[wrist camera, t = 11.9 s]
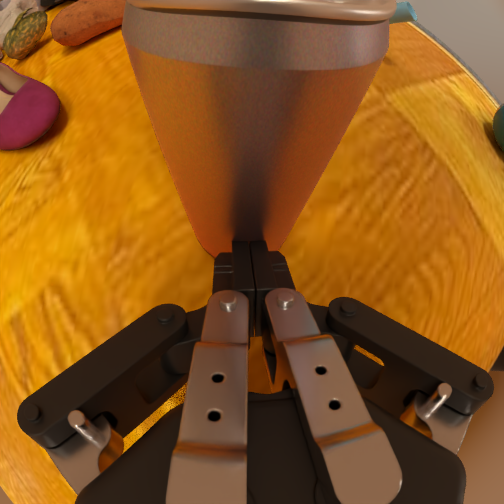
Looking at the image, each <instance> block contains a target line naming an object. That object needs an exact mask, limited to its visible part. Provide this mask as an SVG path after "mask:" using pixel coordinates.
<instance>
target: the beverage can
mask: <svg viewBox="0 0 504 504" xmlns="http://www.w3.org/2000/svg"><path fill="white" fill-rule="evenodd" d="M396 8H397V4H396V0H126V4H125V10H124V15H123V21H122V35H123V38H124V42H125V45H126V48H127V51H128V55H129V58H130V61H131V64H132V67H133V70H134V73H135V77H136V80H137V83H138V86H139V89H140V92H141V94H142V97H143V100H144V103H145V106H146V109H147V112H148V115H149V117H150V120H151V123H152V126H153V129H154V131H155V134H156V137H157V139H158V142H159V145H160V147H161V150H162V153H163V155H164V158H165V161H166V163H167V166H168V168H169V171H170V174H171V176H172V179H173V181H174V184H175V186H176V189H177V191H178V194H179V196H180V199H181V201H182V204H183V206H184V208H185V211H186V213H187V216H188V218H189V221H190V223H191V225H192V228H193V230H194V232H195V235H196V237H197V239H198V241H199V243H200V244H201V245H202V247H203V248H204V249H205V250H206V251H207V252H208V253H209V254H211V255H212V256H213V257H215V258H216V257H217V256H218V254H219V253H221V252H232V241H248V244H249V242H250V241H259V240H266V243H267V247H268V251H277V250H278V249H279V248H280V247H281V245H282V244H283V243H284V241H285V239H286V237H287V236H288V234H289V232H290V230H291V229H292V227H293V225H294V223H295V222H296V220H297V218H298V216H299V215H300V213H301V211H302V209H303V208H304V206H305V204H306V202H307V201H308V199H309V197H310V195H311V193H312V192H313V190H314V188H315V186H316V184H317V183H318V181H319V179H320V177H321V175H322V174H323V172H324V170H325V168H326V166H327V165H328V163H329V161H330V159H331V157H332V155H333V154H334V152H335V150H336V148H337V146H338V144H339V143H340V141H341V139H342V137H343V135H344V133H345V131H346V130H347V128H348V126H349V124H350V122H351V120H352V118H353V116H354V115H355V113H356V111H357V109H358V107H359V105H360V103H361V101H362V99H363V97H364V96H365V94H366V92H367V90H368V88H369V86H370V84H371V82H372V80H373V78H374V76H375V74H376V72H377V70H378V68H379V66H380V65H381V63H382V61H383V59H384V57H385V55H386V53H387V51H388V47H389V18H391V17H392V16H393V15H394V13H395V11H396Z"/></svg>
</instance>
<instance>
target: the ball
mask: <svg viewBox="0 0 504 504" xmlns="http://www.w3.org/2000/svg"><path fill="white" fill-rule="evenodd" d="M493 133H494V136H495V139H496V141H497V143H498V145H499V147H500V148H501V150H502V151H503V152H504V104H502V105H501V106H500V107H499V108H498V109H497V110H496V112H495V115H494V119H493Z"/></svg>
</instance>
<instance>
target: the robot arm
mask: <svg viewBox="0 0 504 504" xmlns="http://www.w3.org/2000/svg"><path fill="white" fill-rule="evenodd" d="M254 329H255V337H258V336H262V342H263V344H262V354H263V358H264V363H265V367H266V371H267V375H268V379H269V383H270V388H271V393H272V394H261V393H254V392H248V351H249V349H250V337H254ZM355 345H358V346H360V347H361V348H363V349H364V350H366V351H368V352H370V353H371V354H373V355H375V356H376V357H378V358H379V359H381V360H382V361H383V363H384V366H382V365H380V364H378V363H377V362H375V361H373V360H372V359H370V358H368V357H367V356H365V355H363V354H362V353H360V352H358V351H357V350H355V349H354V348H355ZM186 382H188V383H187V388H186V394H185V400H184V403H182V404H180V405H178V406H176V407H175V408H173V409H171V410H170V411H169V412H167V413H166V414H165V415H164V416H162V417H161V418H160V419H159V420H158V421H157V422H156V423H155V424H154V425H153V426H152V427H151V428H150V429H149V430H148V431H147V432H146V433H145V434H144V435H143V436H142V437H141V438H140V439H138V440H137V441H136V442H135V443H134V444H133V445H132V446H131V447H130V448H129V449H128V450H127V451H125V452H124V453H123V450H124V441H123V438H124V437H125V436H127V435H128V434H129V433H130V432H131V431H133V430H134V429H135V428H136V427H137V426H138V425H140V424H141V423H142V422H143V421H144V420H145V419H146V418H148V417H149V416H150V415H151V414H152V413H153V412H154V411H156V410H157V409H158V408H159V407H160V406H161V405H162V404H163V403H165V402H166V401H167V400H168V399H169V398H170V397H171V396H172V395H173V394H175V393H176V392H177V391H178V390H179V389H180V388H181V387H182V386H183V385H184V384H185V383H186ZM493 390H494V384H493V381H492V378H491V377H490V375H489V374H488V373H487V372H486V371H485V370H483V369H482V368H480V367H478V366H476V365H475V364H473V363H471V362H469V361H467V360H466V359H464V358H462V357H460V356H458V355H456V354H455V353H453V352H451V351H449V350H447V349H446V348H444V347H442V346H440V345H438V344H437V343H435V342H433V341H431V340H429V339H427V338H426V337H424V336H422V335H420V334H418V333H416V332H415V331H413V330H411V329H409V328H407V327H405V326H404V325H402V324H400V323H398V322H396V321H394V320H393V319H391V318H389V317H387V316H385V315H383V314H382V313H380V312H378V311H376V310H374V309H372V308H370V307H369V306H367V305H365V304H363V303H361V302H359V301H358V300H355V299H353V298H349V297H339V298H336V299H334V300H332V301H331V302H330V304H329V307H325V306H318V305H313V304H310V303H308V302H306V300H305V298H304V296H303V295H302V294H301V293H300V292H298V291H296V289H295V286H294V283H293V280H292V277H291V274H290V271H289V268H288V265H287V262H286V260H285V257H284V256H283V255H282V254H281V253H280V252H279V251H268V247H267V243H266V240H259V241H250V242H249V244H248V241H232V252H221V253H219V254H218V256H217V257H216V258H215V262H214V276H213V290H212V296H211V297H210V298H209V300H208V303H207V305H206V306H204V307H203V308H201V309H198V310H195V311H191V312H187V313H186V312H185V310H184V309H183V308H182V307H180V306H178V305H175V304H162V305H159V306H156V307H154V308H153V309H151V310H150V311H148V312H147V313H145V314H144V315H142V316H141V317H140V318H138V319H137V320H135V321H134V322H132V323H131V324H130V325H128V326H127V327H125V328H124V329H123V330H121V331H120V332H118V333H117V334H115V335H114V336H113V337H111V338H110V339H108V340H107V341H105V342H104V343H103V344H101V345H100V346H98V347H97V348H96V349H94V350H93V351H91V352H90V353H89V354H87V355H86V356H84V357H83V358H82V359H80V360H79V361H77V362H76V363H75V364H73V365H72V366H70V367H69V368H68V369H66V370H65V371H63V372H62V373H61V374H59V375H58V376H56V377H55V378H54V379H52V380H51V381H49V382H48V383H47V384H45V385H44V386H43V387H41V388H40V389H38V390H37V391H36V392H34V393H33V394H31V395H30V396H29V397H27V398H26V399H25V400H24V401H23V402H22V403H21V405H20V406H19V409H18V413H17V420H18V424H19V426H20V428H21V429H22V430H23V431H24V432H25V433H26V434H27V435H28V436H30V437H31V438H32V439H33V440H35V441H36V442H37V443H38V444H39V445H40V446H41V447H42V448H44V449H45V450H46V451H47V453H48V454H49V456H50V457H51V459H52V460H53V462H54V464H55V465H56V466H57V468H58V469H59V471H60V472H61V474H62V475H63V476H64V478H65V479H66V481H67V482H68V483H69V485H70V486H71V487H72V489H73V490H74V491H75V492H76V494H77V495H78V496H77V499H76V501H75V504H463V501H464V493H465V487H466V472H465V468H464V466H463V464H462V462H461V460H460V459H459V457H457V453H458V451H459V449H460V446H461V444H462V441H463V439H464V437H465V434H466V431H467V429H468V426H469V423H470V420H471V417H472V415H473V414H474V413H475V412H476V411H477V410H478V409H479V408H480V407H481V406H482V405H483V404H484V403H485V402H486V401H487V400H488V399H489V398H490V397H491V395H492V394H493ZM122 453H123V454H122Z"/></svg>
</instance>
